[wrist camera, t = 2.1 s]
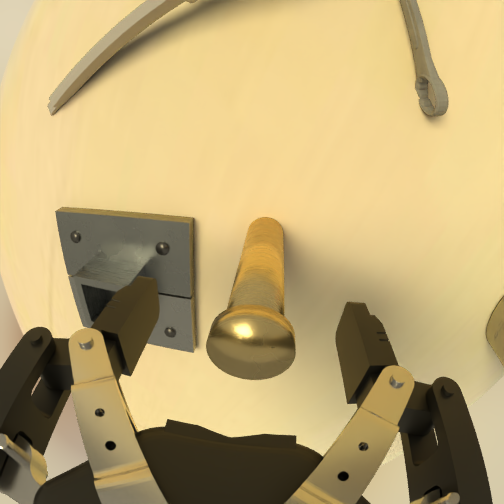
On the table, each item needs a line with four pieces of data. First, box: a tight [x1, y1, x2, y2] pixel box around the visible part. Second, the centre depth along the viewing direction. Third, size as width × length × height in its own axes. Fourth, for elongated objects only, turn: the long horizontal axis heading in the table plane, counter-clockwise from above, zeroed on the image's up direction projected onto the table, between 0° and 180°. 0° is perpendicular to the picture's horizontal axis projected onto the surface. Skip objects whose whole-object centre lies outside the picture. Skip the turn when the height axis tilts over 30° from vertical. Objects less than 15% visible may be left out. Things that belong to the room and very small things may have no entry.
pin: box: [206, 217, 295, 380], centre depth 15 cm, size 3×3×11 cm
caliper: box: [48, 0, 197, 116], centre depth 11 cm, size 20×1×6 cm, turn 115°
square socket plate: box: [55, 207, 196, 353], centre depth 20 cm, size 12×12×4 cm
